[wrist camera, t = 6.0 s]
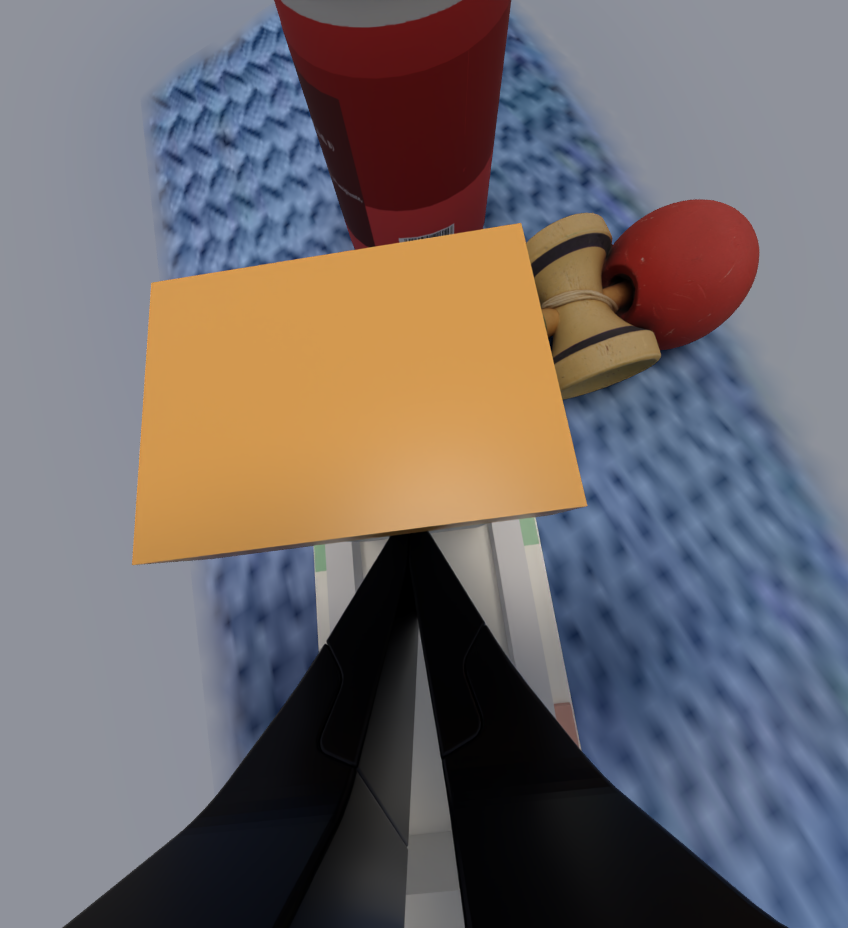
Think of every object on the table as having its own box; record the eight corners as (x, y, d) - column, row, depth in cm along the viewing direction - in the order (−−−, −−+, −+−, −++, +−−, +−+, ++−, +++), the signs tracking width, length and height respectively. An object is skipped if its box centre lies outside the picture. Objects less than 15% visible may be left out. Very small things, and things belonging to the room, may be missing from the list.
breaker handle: (482, 531, 13) (587, 506, 3) (365, 547, 13) (132, 564, 3) (468, 448, 14) (521, 222, 4) (358, 463, 14) (151, 282, 4)
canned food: (508, 214, 20) (575, -144, 10) (431, 313, 19) (410, 29, 9) (406, 164, 22) (366, -200, 11) (328, 252, 21) (201, -56, 10)
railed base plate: (570, 791, 14) (636, 926, 9) (354, 812, 14) (306, 954, 9) (501, 424, 18) (522, 379, 13) (330, 448, 18) (287, 413, 13)
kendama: (402, 485, 19) (751, 364, 16) (352, 438, 13) (879, 241, 11) (374, 375, 22) (664, 260, 19) (324, 298, 16) (726, 121, 14)
